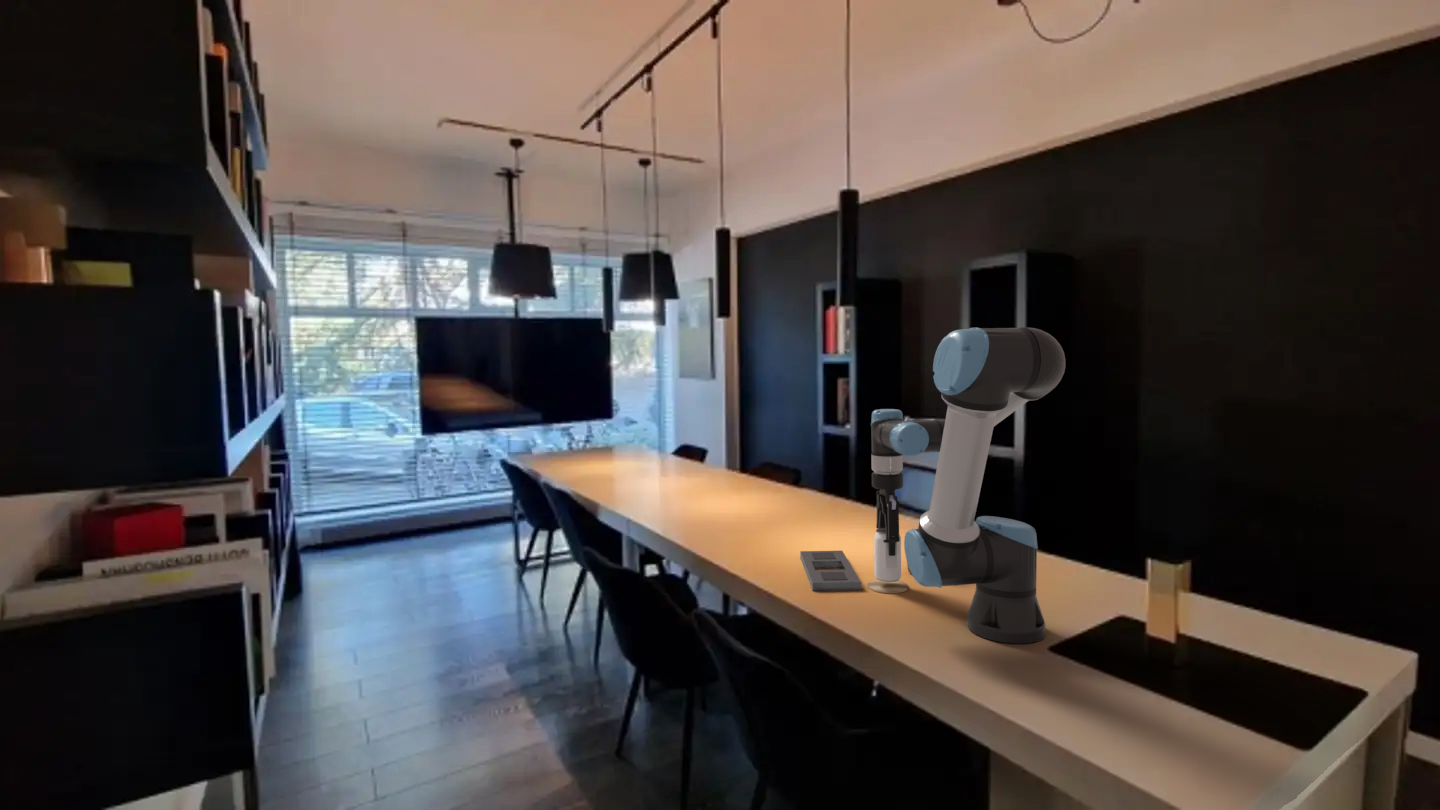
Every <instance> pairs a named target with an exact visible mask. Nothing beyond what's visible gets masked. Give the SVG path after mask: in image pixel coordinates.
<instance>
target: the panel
mask: <svg viewBox="0 0 1440 810" xmlns="http://www.w3.org/2000/svg"><path fill="white" fill-rule="evenodd" d="M799 552H800V553H799V554H800V555H799V556H800V561H801V564H802V567H803V568H804V571H805V573H806V577H807V579H808V582H809V585H810V588H811V590H812V592H822V591H823V592H824V591H827V592H828V591H831V592H832V591H862V581H861V580H860V577H859V576H858V574H857V572H856V571H855V570H854V567H853V566H852V564H851V562H850V561H849V560H848V558H847V556H846V554H845V553H844V551H843V550H802V551H799ZM816 569H817V570H816ZM818 569H819V570H818ZM821 569H822V570H821ZM825 569H826V570H825Z"/></svg>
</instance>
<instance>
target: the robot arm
mask: <svg viewBox="0 0 1440 810" xmlns="http://www.w3.org/2000/svg"><path fill="white" fill-rule="evenodd" d="M1065 356H1066V355H1065V352H1064V350H1063V347H1062V345H1061V344H1060V342H1058V340H1057V339H1056V338H1055V337H1054V336H1052V335H1051V334H1050V333H1049V332H1046V331H1044V330H1042V329H1039V328H1035V327H993V328H989V327H986V328H985V327H982V328H980V327H978V326H977V327H970V328H965V329H964V328H963V329H956V330H953V331H951V332H949V333H948V334H947V335H946V336H944V337H943V338H942V339H941V341H940V343H939V344H938V346H937V348H936V350H935V354H934V358H933V365H932V372H934V375H933V376H932V377H933V382H934V385H935V387H936V389H937V390H938V391H939V392H940V393H941V399H942V400H943V401H944V403H945V404H946V405H947V409H946V415H945V419H931V420H930V419H929V420H925V419H924V420H904V415H903V411H902V410H900V409H895V408H880V409H875V410H873V411H872V412H871V422H870V427H871V458H870V459H871V470H872V471H873V472H872V473H871V487H872V488H874V489H877V490H876V493H875V495H876V525H875V528H876V530H877V529H880V528H885V529H886V540H883V542H884V543H885V568H897V542H899V540H900V538H899V534H900V515H899V514H900V512H899V509H900V501H899V500H898V496H897V495H896V492H895V491H896V490H900V489H902V488H903V487H904V474H903V472H902V471H903V470H904V469H903V468H904V467H903V466H904V464H903V463H904V462H906V458H904V457H903V456H911V457H913V456H914V457H915V456H918V455H920V454H926V453H939V454H938V460H937V465H936V471H935V477H934V482H933V483H934V484H933V488H932V493H931V499H930V503H929V504H930V505H929V510H927V511H925V512H923V513H922V514H921V515H920V518H919V520H918V521H919V522H918V527H917V528H912V529H909V530H908V531H906V532H905V534H904V535H905V536H904V540H903V546H904V554H905V560H906V564H907V563H908V566H909V569H910V571H911V573H912V574H911V575H912V577H913V578H914V580H915V581H916V582H917V584H919V585H920V586H922V587H926V588H927V587H928V588H929V587H930V588H933V587H934V588H942V587H951V586H963V585H975V591H974V594H973V597H972V599H971V603H970V606H969V609H968V611H967V615H966V626H967V628H968V630H969V631H971V632H972V633H974V634H975V635H977V636H979V637H981V638H984V639H987V640H990V641H994V642H999V643H1006V644H1031V643H1035V642H1038V641H1042V640H1043V639H1044V638H1045V636H1046V622H1045V619H1044V616H1043V613H1042V610H1041V606H1040V604H1039V601H1038V598H1037V573H1038V572H1037V569H1038V567H1037V559H1038V558H1037V557H1038V556H1037V554H1038V549H1039V546H1038V540H1037V539H1038V537H1037V532H1036V529H1035V527H1033V526H1032V525H1030V524H1028V523H1026V522H1023V521H1020V520H1016V519H1012V518H1007V517H1000V516H993V515H991V516H990V515H982V516H981V515H980V516H978V517H976V514H977V513H976V512H977V508H978V504H979V500H980V499H979V498H980V493H981V488H982V484H983V480H984V474H985V470H986V466H987V460H988V456H989V450H990V446H991V441H992V436H993V431H994V427H996V426H997V425H998V424H999V423H1001V422H1002V421H1004V420H1005V419H1006V418H1007V417H1009V416H1011V414H1013V413H1014V412H1015V411H1017V410H1018V409H1020V408H1021V407H1022V406H1024V405H1025V404H1026V403H1027V402H1029V401H1037V400H1039V399H1041V398H1043V397H1045V396H1046V395H1048V394H1049V393H1050V392H1051V391H1053V390H1054V389H1055V388H1056V387H1057V386H1058V384H1059V383H1060V382H1061V381H1062V378H1063V376H1064V374H1065V372H1066V371H1065V370H1066V367H1067V366H1066V357H1065ZM975 517H976V519H975ZM893 536H894V537H893Z"/></svg>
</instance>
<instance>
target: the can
mask: <svg viewBox="0 0 1440 810" xmlns="http://www.w3.org/2000/svg"><path fill="white" fill-rule="evenodd" d="M875 532H876V533H875V534H874V538H873V539H874V540H873V541H874V542H873V543H874V544H873V545H874V546H873V549H874V551H873V552H874V554H873V555H874V556H873V557H874V558H873V559H874V561H873V562H874V565H873V567H874V569H873V570H874V578H875V580H876V579H878V580H880V581H885V582H894V581H898V580H899V581H900V580H901V578H902V537H901V534H900V533H899V538H900V540H899V542H897V568H885V543H884V542H883V540H886V529H885V528H880V529H877V528H876V529H875ZM893 537H894V536H893Z"/></svg>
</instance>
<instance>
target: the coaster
mask: <svg viewBox="0 0 1440 810" xmlns="http://www.w3.org/2000/svg"><path fill="white" fill-rule="evenodd" d="M867 588H868V589H869V590H871V591H873V592H875V593H880V594H887V595H889V594H890V595H891V594H902V593H905V592H908V591H909V589H910V588H909V585H908V584H907V582H904V581H902V580H900V579H899V580H898V581H894V582H885V581H880V580H878V579H876V578H875V579H873V580H870V581H868V582H867Z"/></svg>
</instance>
